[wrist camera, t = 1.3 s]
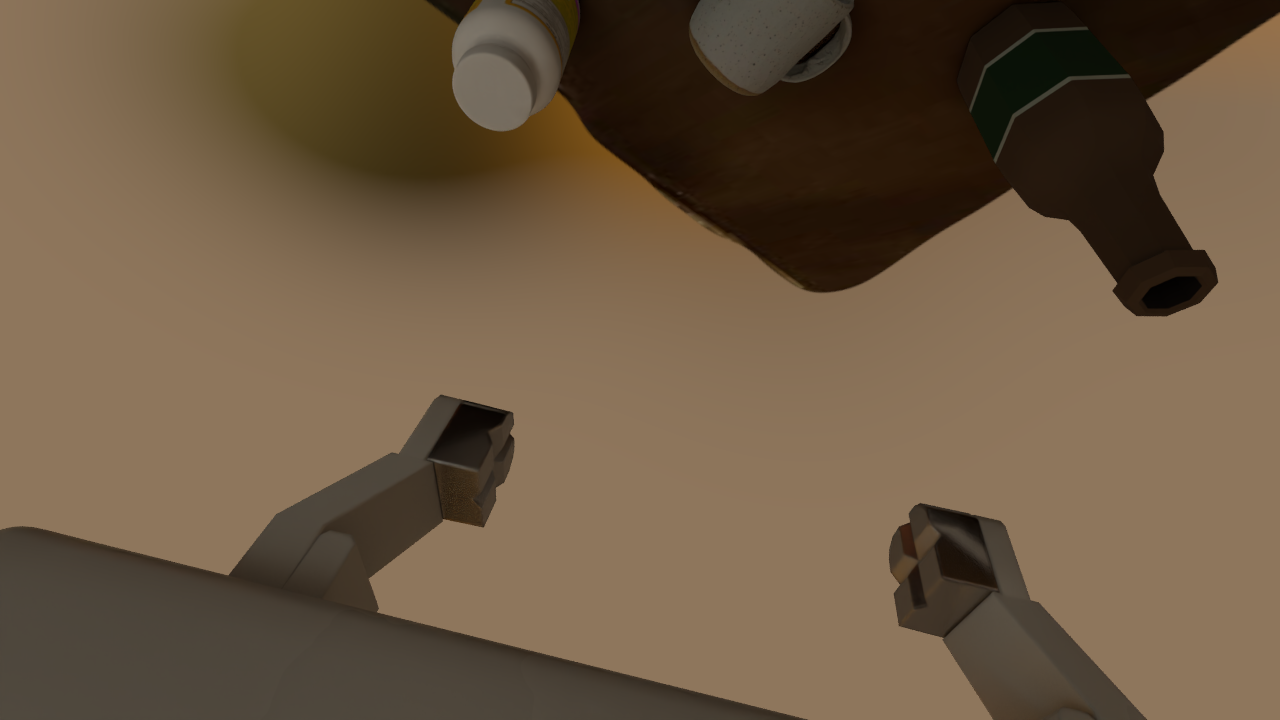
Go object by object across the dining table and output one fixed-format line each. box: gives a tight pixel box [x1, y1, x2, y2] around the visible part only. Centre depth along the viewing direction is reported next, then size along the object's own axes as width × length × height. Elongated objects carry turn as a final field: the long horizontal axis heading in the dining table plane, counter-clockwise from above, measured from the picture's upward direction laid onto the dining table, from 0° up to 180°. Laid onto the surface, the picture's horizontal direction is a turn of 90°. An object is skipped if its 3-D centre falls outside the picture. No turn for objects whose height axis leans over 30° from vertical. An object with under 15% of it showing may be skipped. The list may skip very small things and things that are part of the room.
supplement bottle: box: [452, 0, 580, 131], centre depth 38 cm, size 7×7×13 cm
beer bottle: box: [957, 2, 1218, 316], centre depth 34 cm, size 8×8×24 cm
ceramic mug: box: [689, 0, 854, 96], centre depth 38 cm, size 11×8×8 cm
